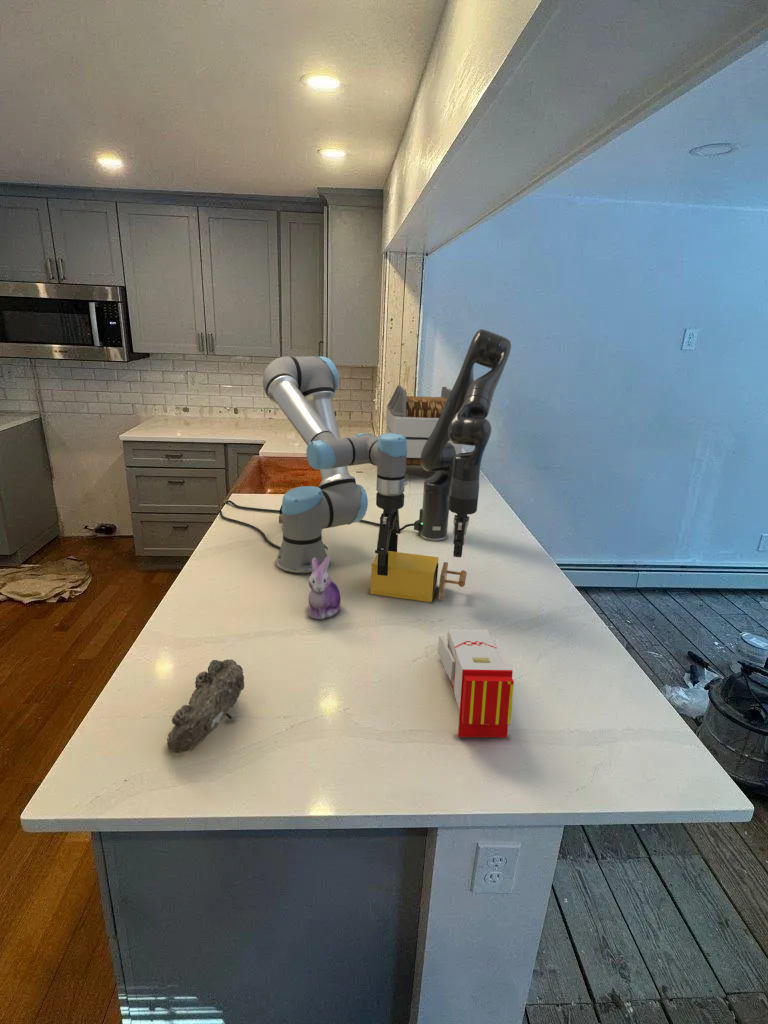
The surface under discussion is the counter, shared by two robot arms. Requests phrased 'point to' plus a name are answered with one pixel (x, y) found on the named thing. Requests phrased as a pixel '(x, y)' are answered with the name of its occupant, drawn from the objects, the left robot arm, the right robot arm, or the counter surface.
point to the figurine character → (280, 516)
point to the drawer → (444, 580)
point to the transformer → (415, 420)
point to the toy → (478, 682)
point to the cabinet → (405, 576)
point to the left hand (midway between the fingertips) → (387, 564)
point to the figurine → (322, 591)
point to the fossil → (206, 705)
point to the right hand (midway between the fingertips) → (458, 550)
